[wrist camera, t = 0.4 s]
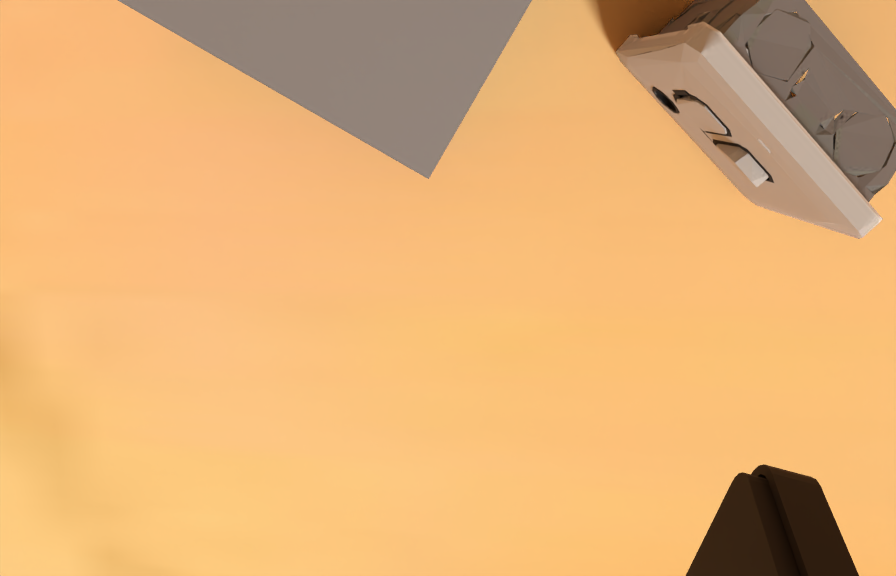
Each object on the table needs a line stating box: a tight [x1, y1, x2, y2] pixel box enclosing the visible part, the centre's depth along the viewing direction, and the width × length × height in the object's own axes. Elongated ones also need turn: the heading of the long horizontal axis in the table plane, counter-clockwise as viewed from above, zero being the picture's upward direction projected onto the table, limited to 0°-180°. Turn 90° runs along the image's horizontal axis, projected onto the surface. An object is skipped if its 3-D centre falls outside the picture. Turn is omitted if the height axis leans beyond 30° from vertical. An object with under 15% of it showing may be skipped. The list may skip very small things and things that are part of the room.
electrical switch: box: [616, 0, 896, 239], centre depth 31 cm, size 9×5×9 cm, turn 46°
